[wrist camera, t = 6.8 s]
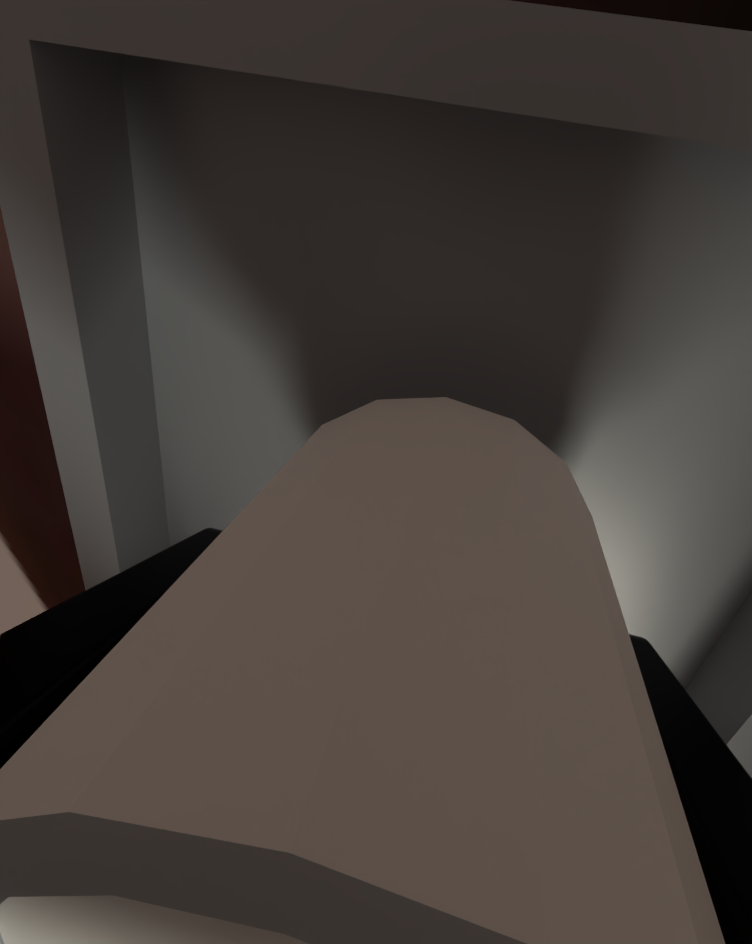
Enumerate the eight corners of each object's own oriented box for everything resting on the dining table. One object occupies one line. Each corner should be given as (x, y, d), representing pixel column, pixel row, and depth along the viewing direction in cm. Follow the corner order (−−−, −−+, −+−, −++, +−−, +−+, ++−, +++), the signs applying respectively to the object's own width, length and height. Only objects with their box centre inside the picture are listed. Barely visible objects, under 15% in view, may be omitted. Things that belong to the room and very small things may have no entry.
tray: (664, 742, 16) (687, 858, 14) (165, 604, 18) (106, 684, 15) (1114, 110, 8) (1386, 113, 5) (92, -28, 10) (-62, -73, 7)
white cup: (185, 410, 10) (-275, 811, 4) (600, 302, 8) (798, 894, 2) (327, 677, 13) (166, 1123, 7) (657, 661, 11) (802, 1310, 5)
